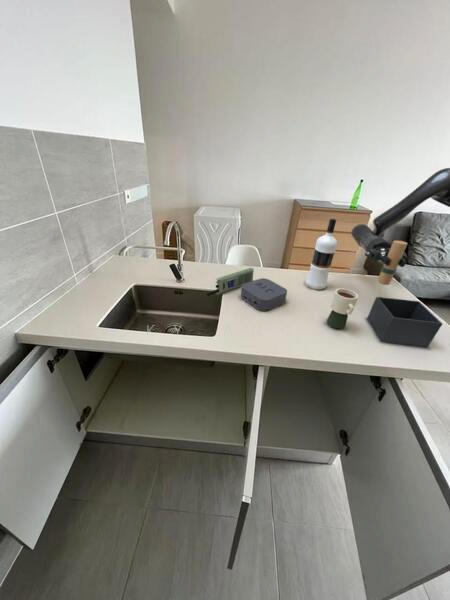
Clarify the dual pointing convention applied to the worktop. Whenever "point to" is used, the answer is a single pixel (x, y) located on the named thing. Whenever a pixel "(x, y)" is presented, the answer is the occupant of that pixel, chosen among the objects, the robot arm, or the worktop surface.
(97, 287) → the worktop surface
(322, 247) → the vodka
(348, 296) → the character mug
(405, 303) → the bin
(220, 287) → the handheld radio
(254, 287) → the streaming box
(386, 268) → the banded cardboard tube
